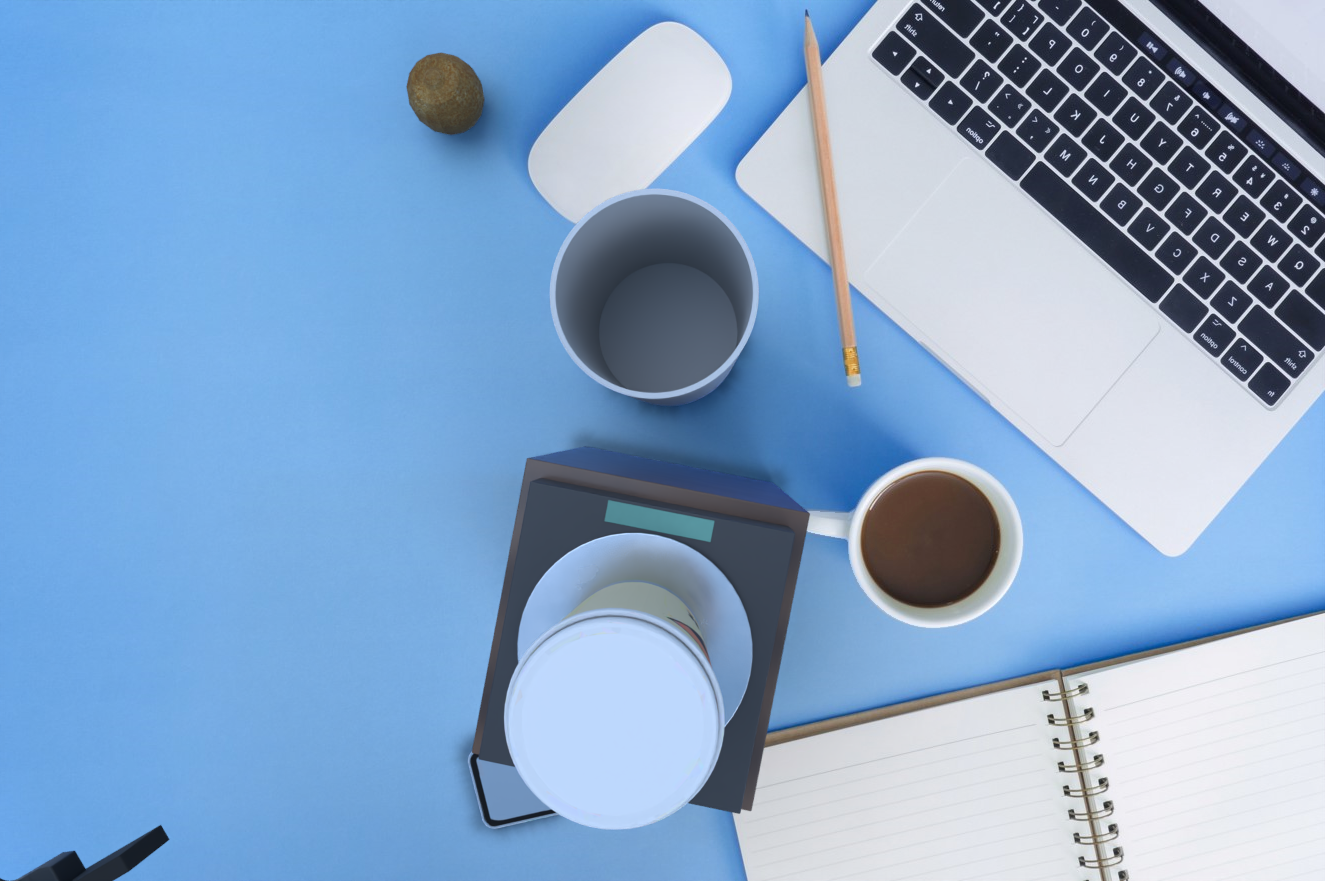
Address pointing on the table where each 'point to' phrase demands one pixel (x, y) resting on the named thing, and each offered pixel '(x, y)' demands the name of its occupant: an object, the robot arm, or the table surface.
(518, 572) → the scale
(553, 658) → the coffee cup
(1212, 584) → the table surface
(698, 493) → the dark grey tall block
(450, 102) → the fruit
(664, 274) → the cylinder vase
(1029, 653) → the table surface
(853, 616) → the table surface
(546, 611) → the scale pan
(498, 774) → the smartphone
